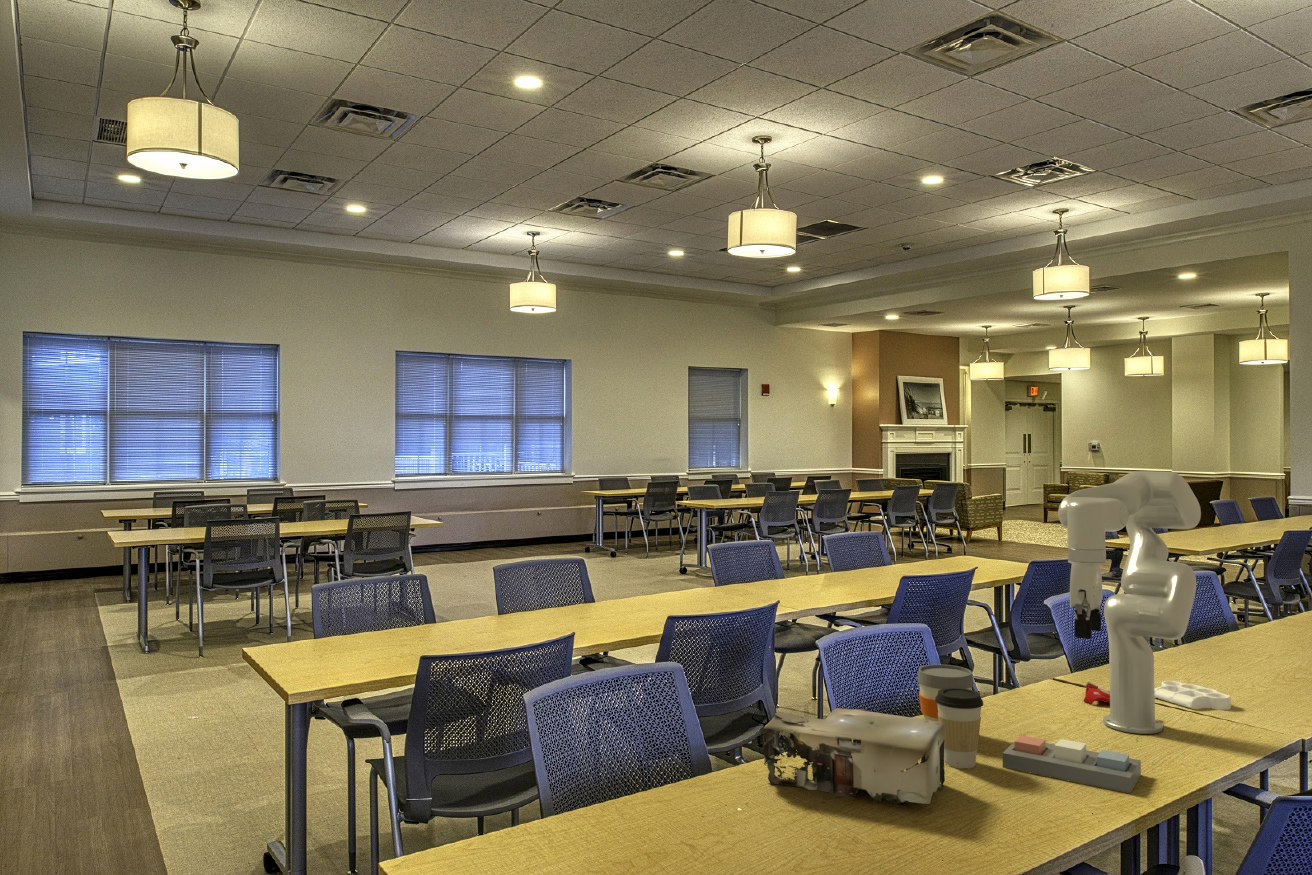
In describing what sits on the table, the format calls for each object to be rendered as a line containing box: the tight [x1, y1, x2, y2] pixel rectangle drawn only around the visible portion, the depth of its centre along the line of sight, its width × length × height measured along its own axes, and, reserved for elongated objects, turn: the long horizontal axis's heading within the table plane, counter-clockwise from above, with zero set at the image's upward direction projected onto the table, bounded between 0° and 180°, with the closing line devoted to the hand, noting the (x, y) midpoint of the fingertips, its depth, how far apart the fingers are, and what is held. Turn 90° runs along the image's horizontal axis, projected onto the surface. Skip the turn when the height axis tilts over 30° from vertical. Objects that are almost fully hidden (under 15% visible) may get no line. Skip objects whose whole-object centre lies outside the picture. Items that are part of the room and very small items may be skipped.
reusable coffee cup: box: [917, 664, 974, 722], centre depth 207 cm, size 13×13×15 cm
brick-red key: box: [1014, 734, 1047, 756], centre depth 188 cm, size 5×5×4 cm
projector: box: [762, 707, 946, 807], centre depth 176 cm, size 18×33×13 cm, turn 62°
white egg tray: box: [1155, 680, 1232, 711], centre depth 232 cm, size 3×18×15 cm
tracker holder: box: [1083, 681, 1110, 705], centre depth 234 cm, size 12×4×10 cm
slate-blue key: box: [1097, 749, 1130, 772], centre depth 178 cm, size 5×5×4 cm
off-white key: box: [1055, 738, 1087, 764], centre depth 183 cm, size 5×5×4 cm
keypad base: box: [1002, 741, 1142, 794], centre depth 183 cm, size 12×24×3 cm, turn 52°
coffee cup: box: [935, 688, 984, 769], centre depth 188 cm, size 10×10×15 cm
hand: (1088, 634), depth 194 cm, fingers open, 9 cm apart
